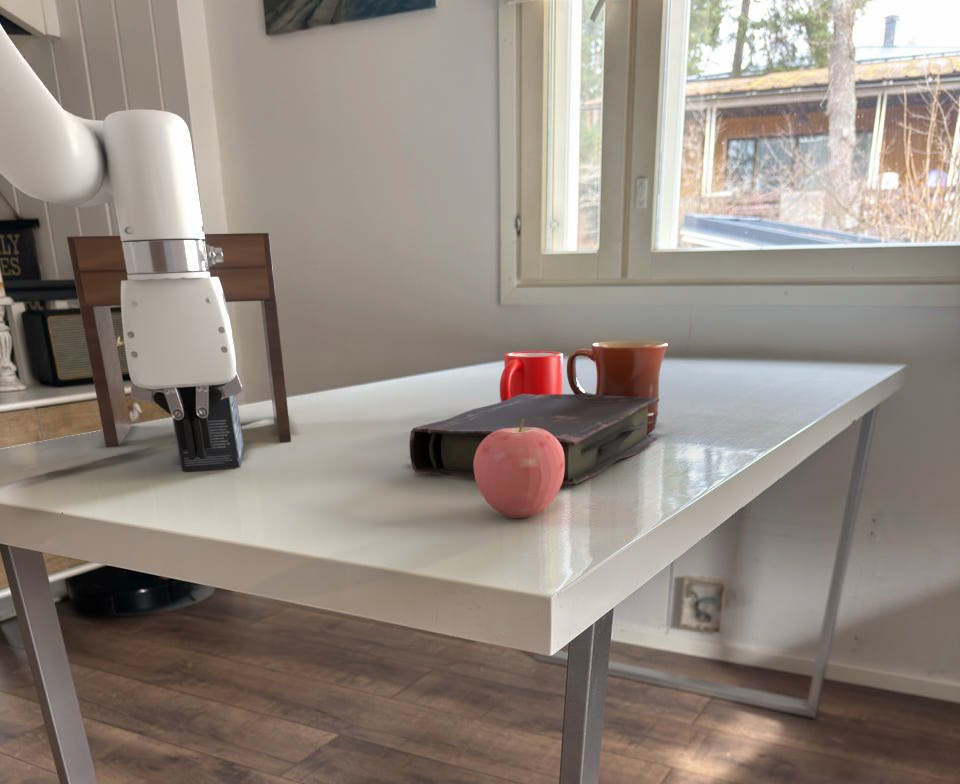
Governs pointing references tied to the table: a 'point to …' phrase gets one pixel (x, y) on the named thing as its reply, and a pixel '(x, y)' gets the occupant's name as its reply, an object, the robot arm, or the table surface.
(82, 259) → the brown wooden stand
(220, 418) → the small box
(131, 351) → the robot arm
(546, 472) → the apple
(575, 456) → the diary
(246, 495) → the table surface
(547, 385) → the mug
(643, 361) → the mug
